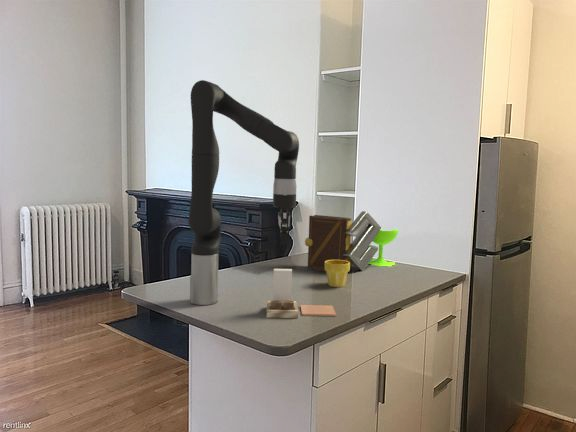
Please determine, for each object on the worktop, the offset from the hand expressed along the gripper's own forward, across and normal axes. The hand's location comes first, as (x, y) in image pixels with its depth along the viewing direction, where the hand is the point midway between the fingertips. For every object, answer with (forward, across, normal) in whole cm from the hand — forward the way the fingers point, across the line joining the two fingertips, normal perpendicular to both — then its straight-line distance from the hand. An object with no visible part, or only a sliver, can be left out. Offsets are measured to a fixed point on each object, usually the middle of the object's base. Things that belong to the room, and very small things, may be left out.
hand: (283, 241), depth 162 cm
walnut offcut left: (+22, +5, -2) cm, 23 cm away
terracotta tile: (+23, 0, +12) cm, 26 cm away
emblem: (+23, -65, +38) cm, 79 cm away
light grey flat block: (+22, 0, 0) cm, 22 cm away
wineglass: (+24, -81, +51) cm, 98 cm away
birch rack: (+23, +2, 0) cm, 23 cm away
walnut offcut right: (+22, +5, +2) cm, 23 cm away
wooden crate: (+23, -64, +22) cm, 72 cm away
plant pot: (+23, -36, +23) cm, 48 cm away
